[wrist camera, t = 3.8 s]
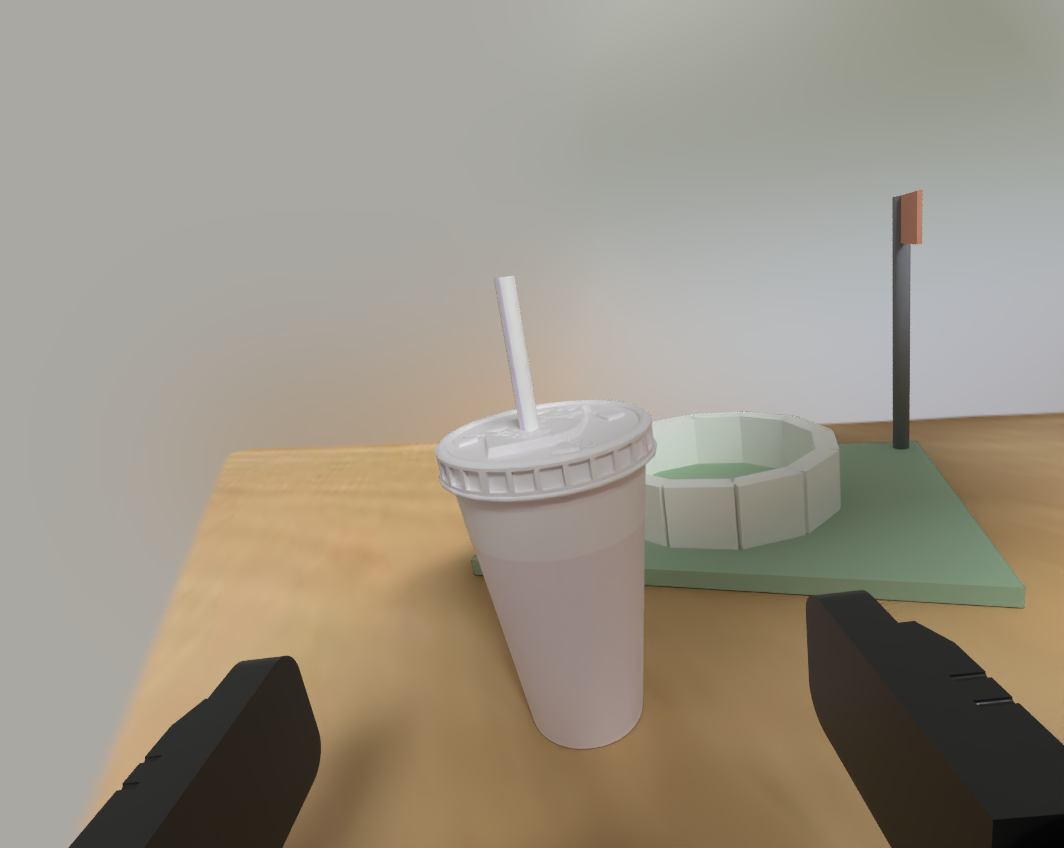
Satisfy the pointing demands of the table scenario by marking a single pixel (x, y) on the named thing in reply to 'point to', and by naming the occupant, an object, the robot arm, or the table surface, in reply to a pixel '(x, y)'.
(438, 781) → the table surface
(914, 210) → the practice green
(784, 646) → the table surface
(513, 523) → the smoothie
